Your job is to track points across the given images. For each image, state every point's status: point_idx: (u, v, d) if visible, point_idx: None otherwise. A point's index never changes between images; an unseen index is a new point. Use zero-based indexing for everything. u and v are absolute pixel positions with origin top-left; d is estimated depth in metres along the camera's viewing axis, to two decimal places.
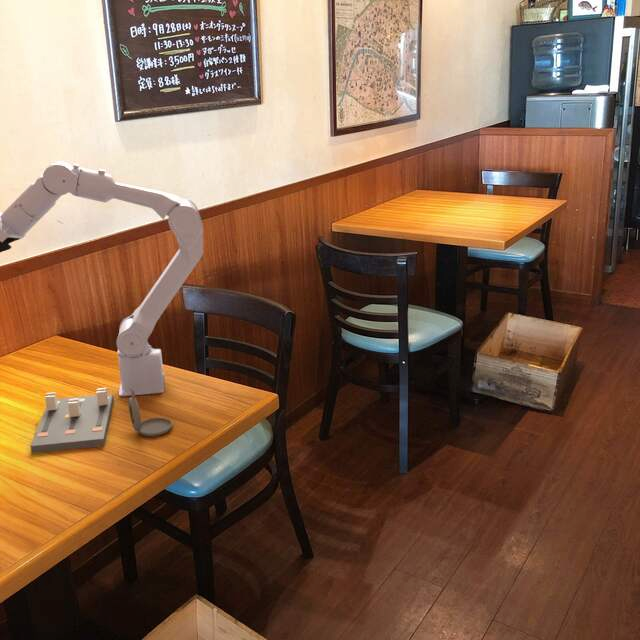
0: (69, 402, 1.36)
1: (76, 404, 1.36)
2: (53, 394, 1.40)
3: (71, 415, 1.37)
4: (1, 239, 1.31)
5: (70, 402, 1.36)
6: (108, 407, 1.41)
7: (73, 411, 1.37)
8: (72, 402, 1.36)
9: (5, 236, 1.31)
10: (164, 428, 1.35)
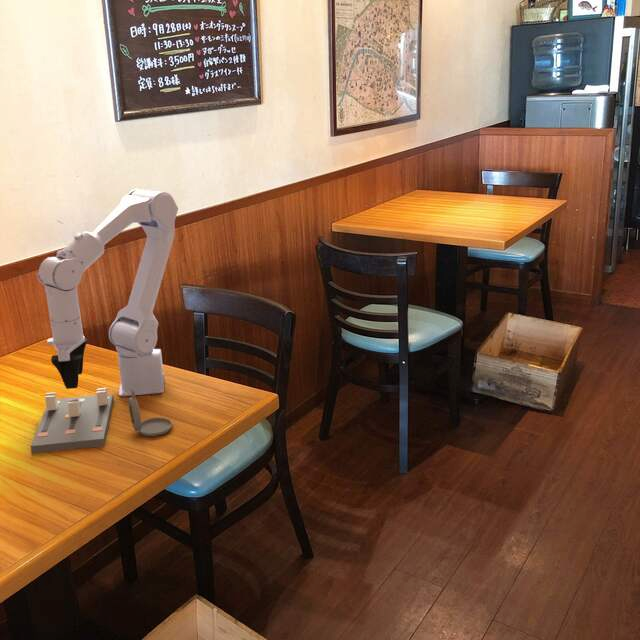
0: (69, 402, 1.36)
1: (76, 404, 1.36)
2: (53, 394, 1.40)
3: (71, 415, 1.37)
4: (66, 359, 1.31)
5: (70, 402, 1.36)
6: (108, 407, 1.41)
7: (73, 411, 1.37)
8: (72, 402, 1.36)
9: (66, 353, 1.30)
10: (164, 428, 1.35)
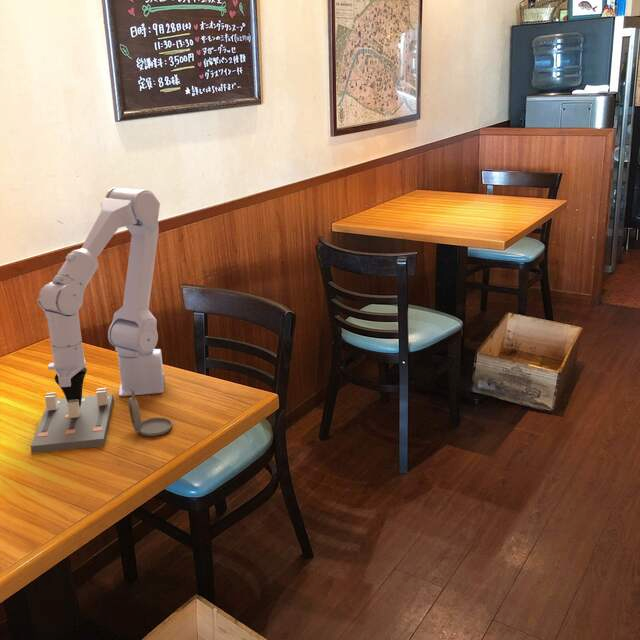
0: (69, 403, 1.36)
1: (76, 405, 1.36)
2: (53, 394, 1.40)
3: (71, 416, 1.37)
4: (67, 384, 1.30)
5: (70, 403, 1.36)
6: (108, 407, 1.41)
7: (73, 412, 1.36)
8: (72, 403, 1.36)
9: (67, 379, 1.30)
10: (164, 428, 1.35)
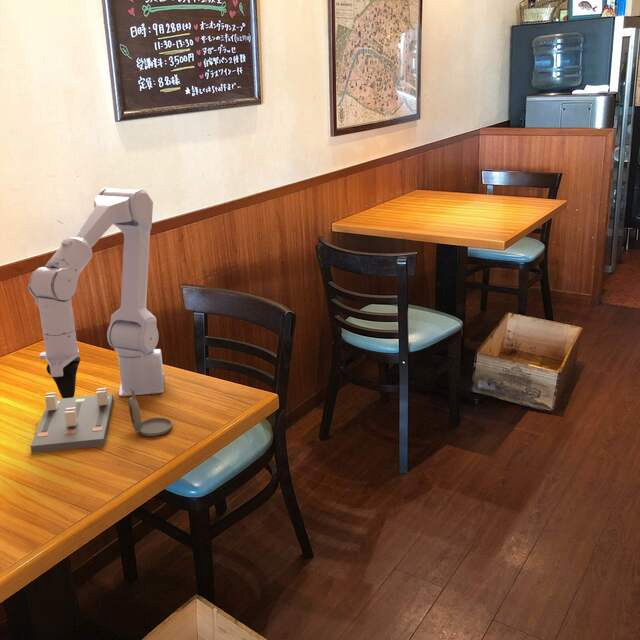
0: (66, 411, 1.33)
1: (73, 413, 1.33)
2: (53, 394, 1.40)
3: (68, 424, 1.33)
4: (59, 374, 1.24)
5: (67, 411, 1.33)
6: (108, 407, 1.41)
7: (70, 420, 1.33)
8: (69, 411, 1.33)
9: (60, 368, 1.23)
10: (164, 428, 1.35)
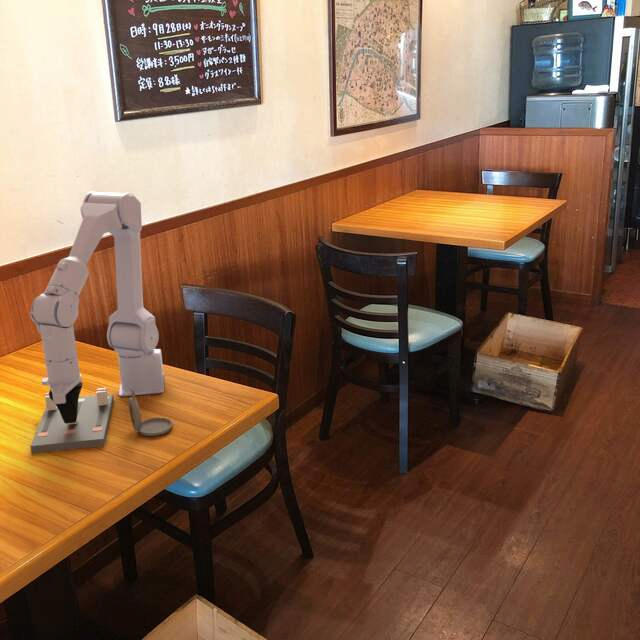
0: None
1: None
2: None
3: (69, 423, 1.34)
4: (62, 401, 1.23)
5: None
6: (108, 407, 1.41)
7: None
8: None
9: (62, 396, 1.23)
10: (164, 428, 1.35)
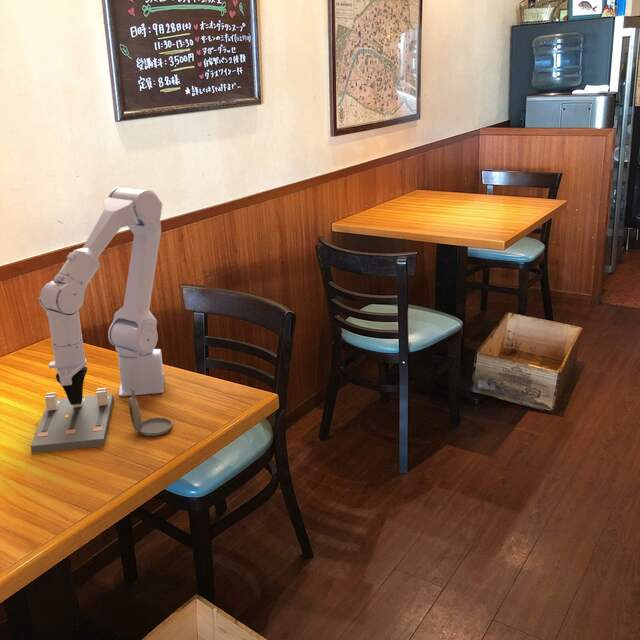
0: None
1: None
2: (53, 394, 1.40)
3: (74, 406, 1.41)
4: (68, 383, 1.31)
5: None
6: (108, 407, 1.41)
7: None
8: None
9: (68, 378, 1.30)
10: (164, 428, 1.35)
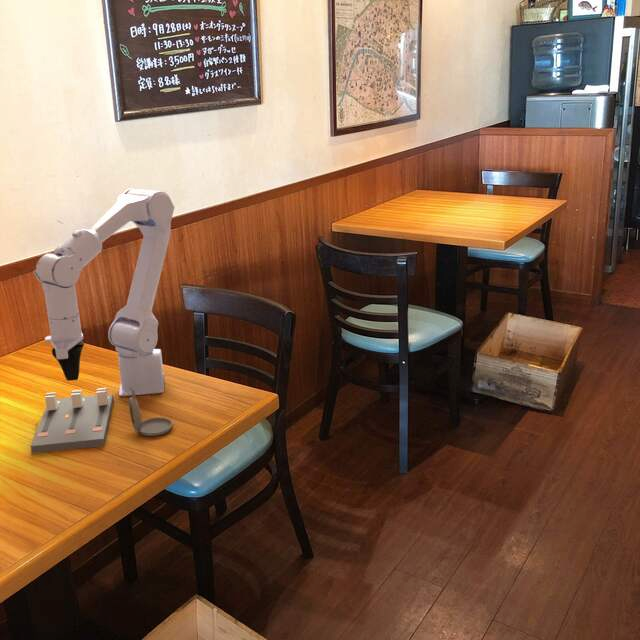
0: (72, 393, 1.40)
1: (79, 395, 1.40)
2: (53, 394, 1.40)
3: (74, 406, 1.41)
4: (65, 356, 1.29)
5: (73, 393, 1.40)
6: (108, 407, 1.41)
7: (76, 402, 1.41)
8: (75, 393, 1.40)
9: (65, 351, 1.29)
10: (164, 428, 1.35)
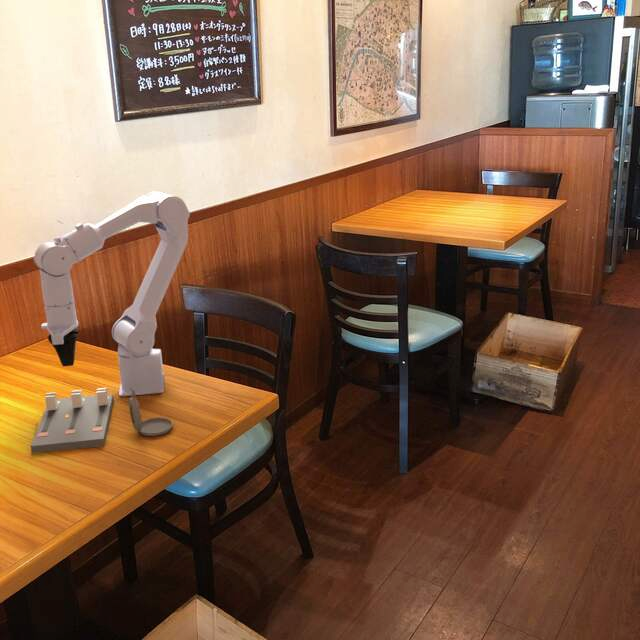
0: (72, 393, 1.40)
1: (79, 395, 1.40)
2: (53, 394, 1.40)
3: (74, 406, 1.41)
4: (60, 342, 1.34)
5: (73, 393, 1.40)
6: (108, 407, 1.41)
7: (76, 402, 1.41)
8: (75, 393, 1.40)
9: (60, 337, 1.33)
10: (164, 428, 1.35)
